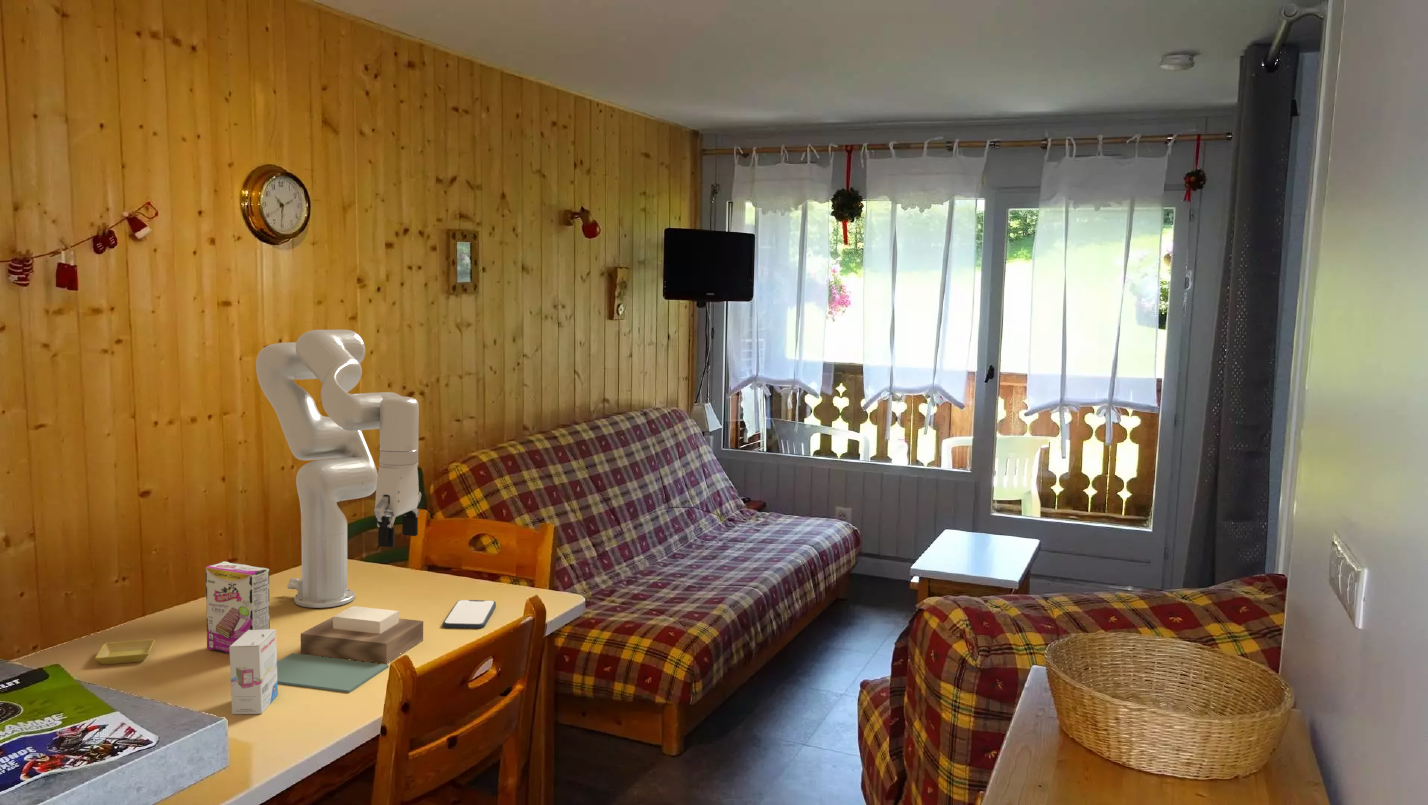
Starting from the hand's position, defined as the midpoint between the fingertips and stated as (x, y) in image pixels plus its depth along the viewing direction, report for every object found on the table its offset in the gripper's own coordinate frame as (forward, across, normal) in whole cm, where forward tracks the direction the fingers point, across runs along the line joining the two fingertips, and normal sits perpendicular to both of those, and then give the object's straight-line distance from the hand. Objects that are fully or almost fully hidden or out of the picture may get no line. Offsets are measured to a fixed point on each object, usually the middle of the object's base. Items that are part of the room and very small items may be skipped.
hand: (398, 540), depth 210 cm
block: (+19, +11, -1) cm, 22 cm away
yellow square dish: (+19, +28, -40) cm, 53 cm away
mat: (+19, +26, -2) cm, 32 cm away
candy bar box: (+19, +20, -22) cm, 35 cm away
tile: (+14, +10, -1) cm, 17 cm away
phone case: (+19, -12, +10) cm, 25 cm away
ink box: (+19, +41, -4) cm, 46 cm away
